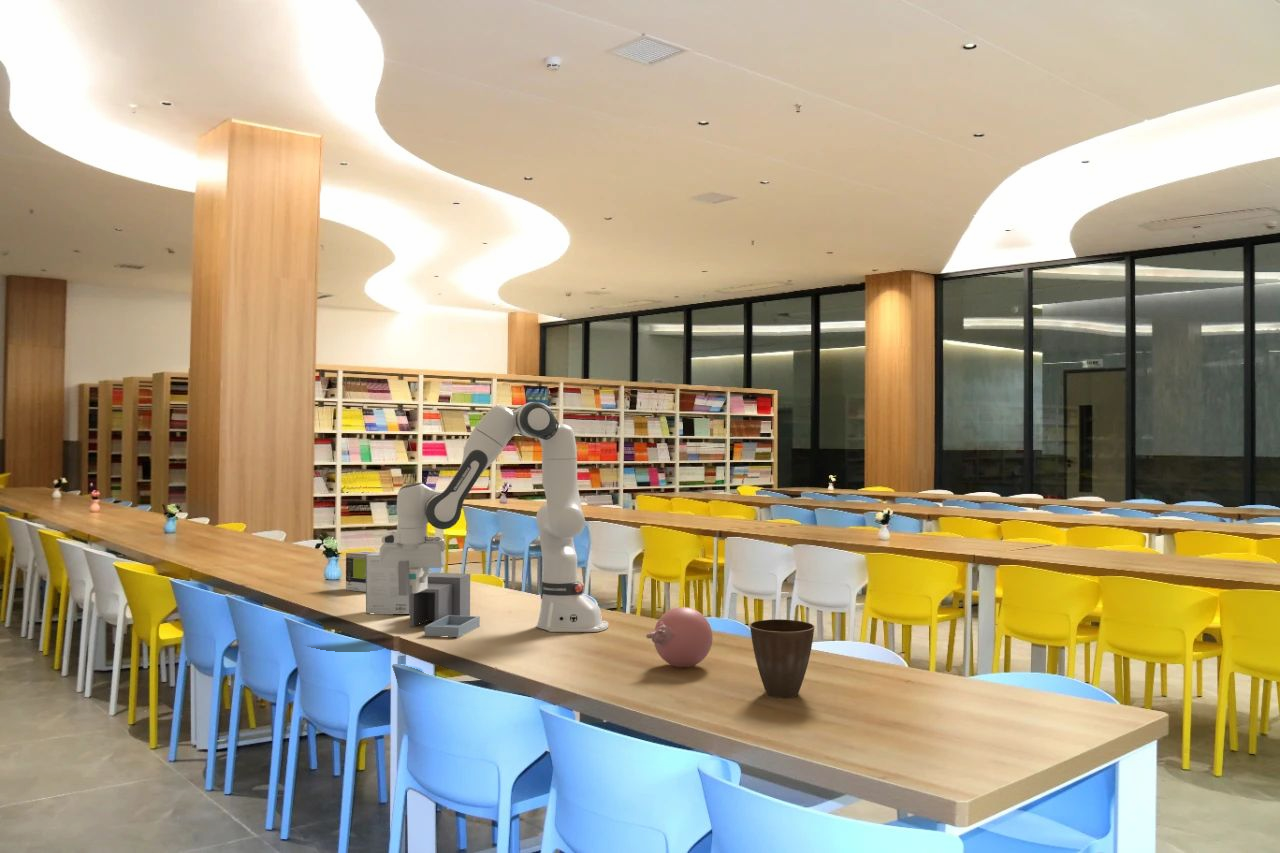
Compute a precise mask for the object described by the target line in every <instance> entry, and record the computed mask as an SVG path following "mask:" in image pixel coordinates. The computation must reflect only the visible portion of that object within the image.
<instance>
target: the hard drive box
mask: <svg viewBox="0 0 1280 853" xmlns="http://www.w3.org/2000/svg"><path fill="white" fill-rule="evenodd" d="M366 613H374V614H373V615H393V614H409V615H410V594H409V595H407V596H399V581H398V574H397V573H396V568H393V567H381V566H380V564H379V553H373V554H369V555H366V592H365V614H366Z"/></svg>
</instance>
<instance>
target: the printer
mask: <svg viewBox="0 0 1280 853" xmlns="http://www.w3.org/2000/svg"><path fill="white" fill-rule="evenodd" d="M427 578H428V589H425V590H423V591H420V592H418V593H412V594H410V614H409V627H410V626H415V625H417V624H419V623H421V624H423V623H425V622H424V621H426V620H428V621H431V620H435V621H437V620H439V619H441V618H443V617H445V616H447V615H454V616H471V573H453V572H429V573H428V574H427ZM435 621H434V622H435ZM422 622H423V623H422ZM426 622H427V621H426ZM419 625H420V624H419ZM417 626H418V625H417ZM415 627H416V626H415Z"/></svg>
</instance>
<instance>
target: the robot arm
mask: <svg viewBox="0 0 1280 853" xmlns="http://www.w3.org/2000/svg"><path fill="white" fill-rule="evenodd" d="M574 432H575V431H574V429H573V428H572V427H571V426H570V425H568V424H565V423H561V422H559V421H558V419H557V418H556V416H555V414H554V412H553V410H552V409H551V408H550V407H549V406H548V405H547V404H546V403H543V402H541V401H529V402H527V403H525V404H522V405H521V406H518V407H517V408H514V409H513V410H512V409H511V408H509V407H507V406H505V405H498V404H497V405H495V406H492V407H491V408H490V409H489V410H488V411H487V412H486V413H485V414H484V416H482V418H481V419H480V420H479V421H478V422H477V424H476V425H475V427H474V428H473V429H472V431H471V433H470V434H469V436H468V438H467V440H466V442H465V445H464V447H463V453H462V454H463V455H462V459H461V460H462V461H461V463H460V466H459V468H458V470H457V471H456V473H455V475H454V476H453V478H452V479H451V480H450V482H449V484H448V485H447V487H446V488H445V489H444V490H443V491H442V492H441V491H439V490H435V489H433V488H431V487H429V486H427V485H426V484H424V483H422V482H416V483H415V482H414V483H408V484H405V485H404V486H401V487H400V489H398V492H397V497H396V515H397V526H396V531H394V532H391V533H389V534H386V535H383V536H382V537H381V546H380V548H379V552H380V553H379V564H380V566H381V567H393V568H396V573H397V574H398V562H399V561H409V568H423V571H424V574H423V576H421V577H419V580H420V581H419V582H420V583H425V582H426V576H427V574H428V573H430V571H431V570H430V569H432V568H433V569H440V568H444V566H445V565H446V563H447V562H446V561H447V560H446V553H445V548H446V542H445V540H444V539H443V538H441V537H439V536H428V524H430V525H431V526H432V527H433V528H436V529H439V530H447V529H451V528H452V527H454V526H455V525H457V523H458V522H459V520H460V517H461V515H462V509H463V505H464V501H465V499H466V498H467V496H468V494H469V493H470V492H471V490H472V488H473V487H474V485H475V484H476V482H477V480H479V478H480V476H481V475H482V474H483V473H484V472H485V471H486V470H487V469H488V468H489V467H490V466H491V465H492V464H493V463H494V461H496V459H497V458H498V457H499V456H500V455H501V453H502V452H503V451H504V449H505V447H506V446H507V445H508V442H509V440H511V439H512V438H513V437H514V436H515V435H520V436H522V437H525V438H526V437H527V438H531V439H532V438H533V439H534V438H535V439H536V438H537V440H538V441H539V443H540V445H541V450H542V451H541V473H542V475H541V478H542V479H541V480H542V482H541V483H542V488H543V491H544V494H545V501H546V503H544V504H543V505H542V506H541V507H540V508H539V509H538V511H537V512H536V516H535V517H536V518H535V521H536V524H537V528H538V535H539V543H540V549H541V559H542V560H541V564H542V565H541V566H542V567H541V568H542V572H541V574H542V575H541V577H542V578H541V579H542V580H541V581H540V588H539V590H540V594H539V595H540V599H541V601H540V602H541V603H540V609H539V610H540V611H539V616H538V621H537V623H536V627H537V628H538V629H541V630H545V631H547V632H551V633H555V632H556V633H560V632H561V633H569V632H570V633H581V632H582V633H583V632H584V633H592V632H594V633H596V632H597V633H598V632H601V631H605V630H606V629H607V628H609V622H608V621H606V620H603V619H602V618H603V617H602V611H601V608H600V606H599V605H598V604H597V603H596V602H594V601H593V600H592V599H591V598H590V597H588V596H587V595H586V594H584V587H585V583H583V582H582V583H581V582H580V581H579V580H578V554H577V552H576V547H575V544H574V543H575V542H574V538H577V537H578V536H580V535H581V533H582V532H583V531H584V529H585V527H586V519H585V515H584V513H583V508H582V502H581V497H580V491H579V486H578V483H579V482H578V452H577V449H578V448H577V443H576V442H577V441H576V436H575V433H574Z"/></svg>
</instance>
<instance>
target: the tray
mask: <svg viewBox="0 0 1280 853" xmlns="http://www.w3.org/2000/svg"><path fill="white" fill-rule="evenodd" d="M480 618H481V617H480V615H479V616H478V615H477V616H476V615H475V616H474V615H470V616H454V615H447V616H445V617H443V618H441V619H439V620H437V621H432V622H431V623H428V624H427V625H424V637H425V636H448V637H459V638H461V637H463V636H464V635H463V634H465V633H467V632H468V633H470V632H472V631H474V630H475V628H476V629H477V627H478V626H479V627H480V626H481V624H480V623H481V619H480ZM479 627H478V628H479ZM473 629H474V630H473ZM471 630H472V631H471ZM469 631H470V632H469ZM468 633H467V634H468ZM462 635H463V636H462ZM465 635H466V634H465ZM460 636H461V637H460Z"/></svg>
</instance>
